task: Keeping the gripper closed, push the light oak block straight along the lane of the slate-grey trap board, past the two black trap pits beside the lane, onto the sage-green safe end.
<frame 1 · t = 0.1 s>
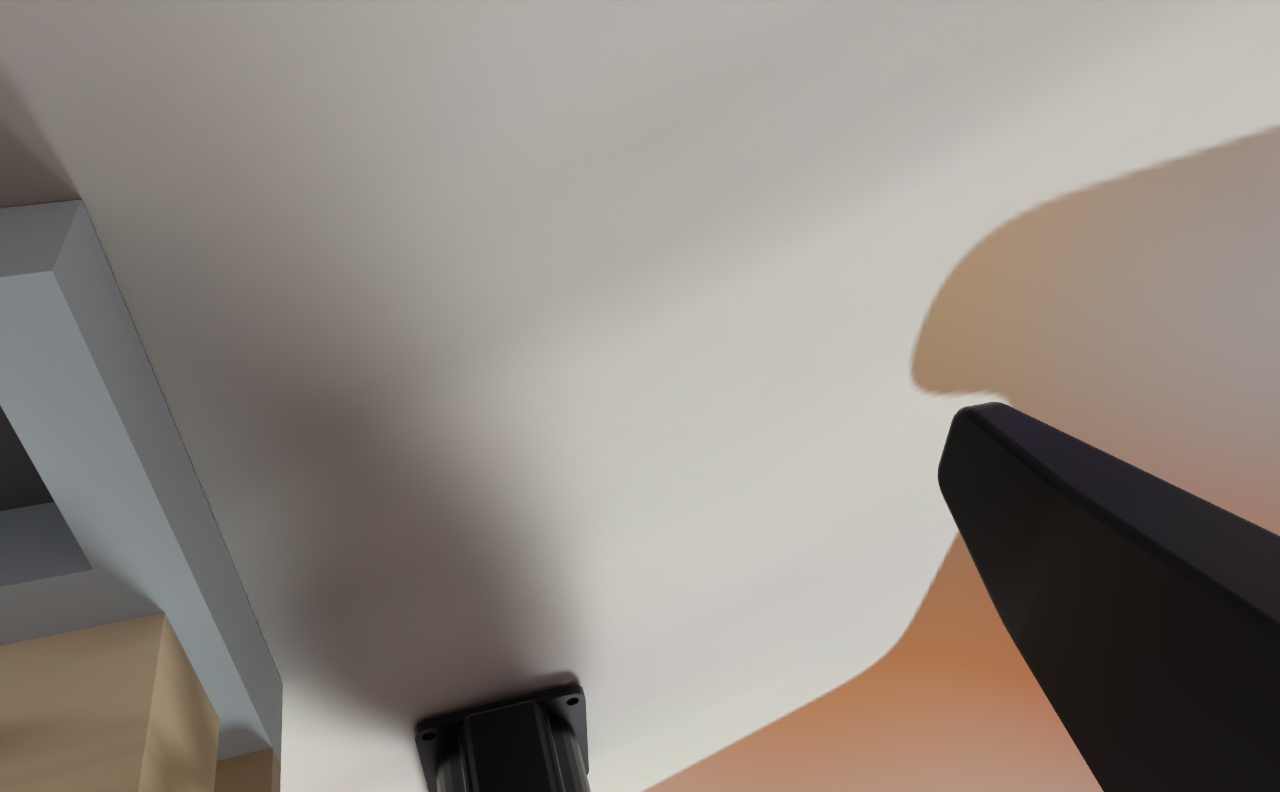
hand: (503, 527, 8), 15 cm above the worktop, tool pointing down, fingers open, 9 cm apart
oak block: (94, 691, 24), point 3 cm above the worktop, touching trap board
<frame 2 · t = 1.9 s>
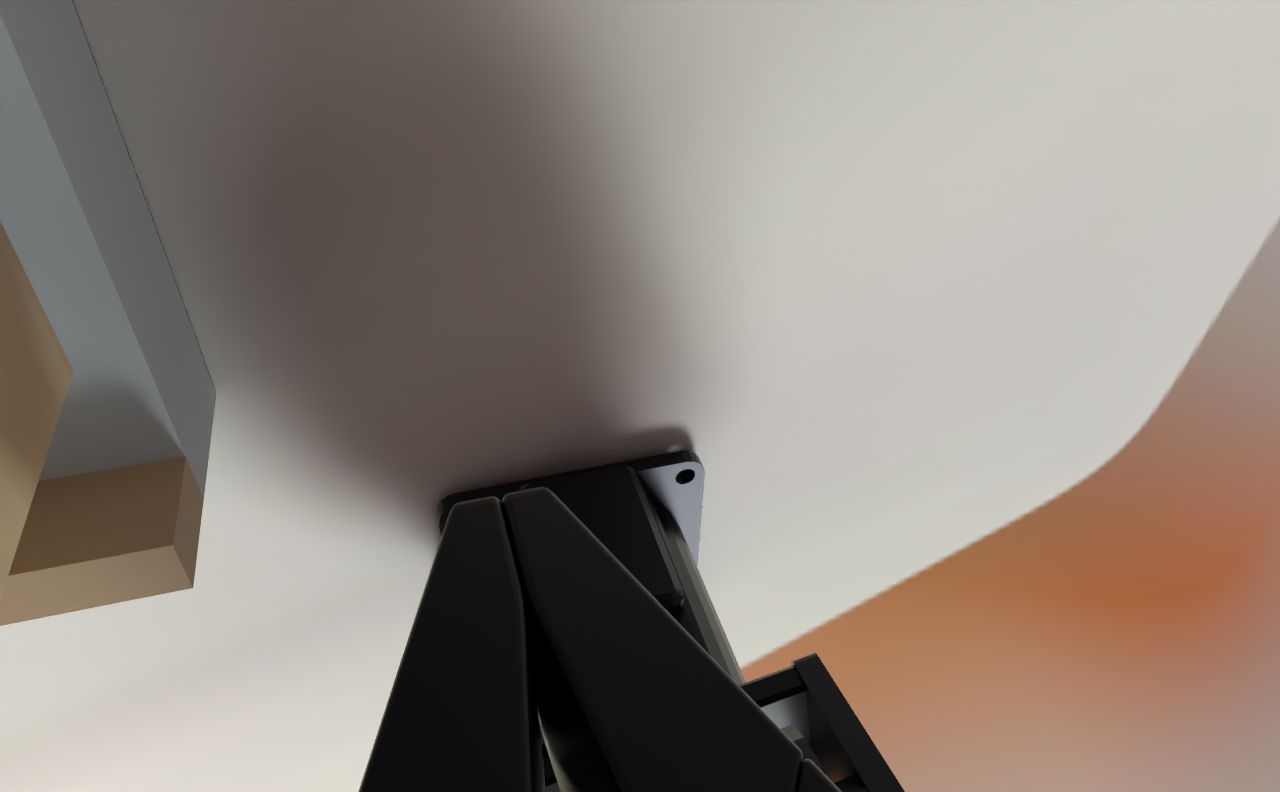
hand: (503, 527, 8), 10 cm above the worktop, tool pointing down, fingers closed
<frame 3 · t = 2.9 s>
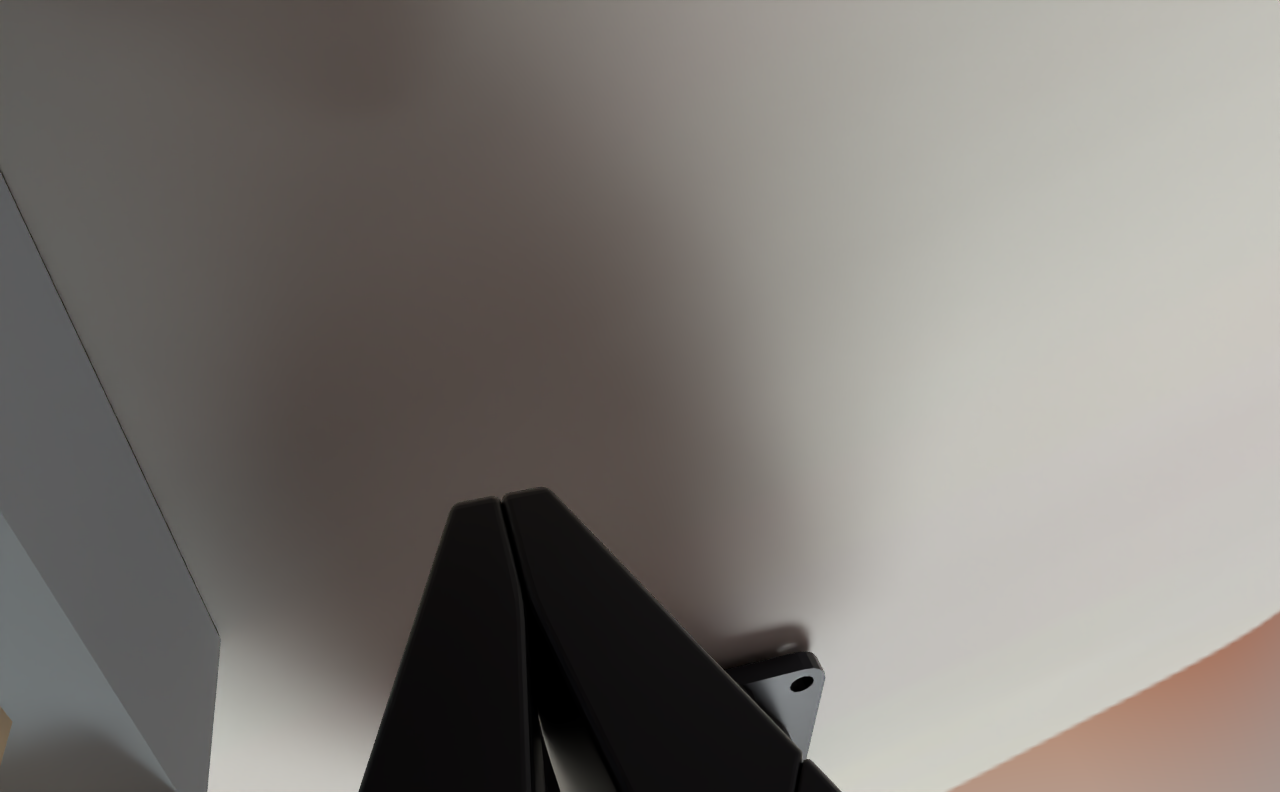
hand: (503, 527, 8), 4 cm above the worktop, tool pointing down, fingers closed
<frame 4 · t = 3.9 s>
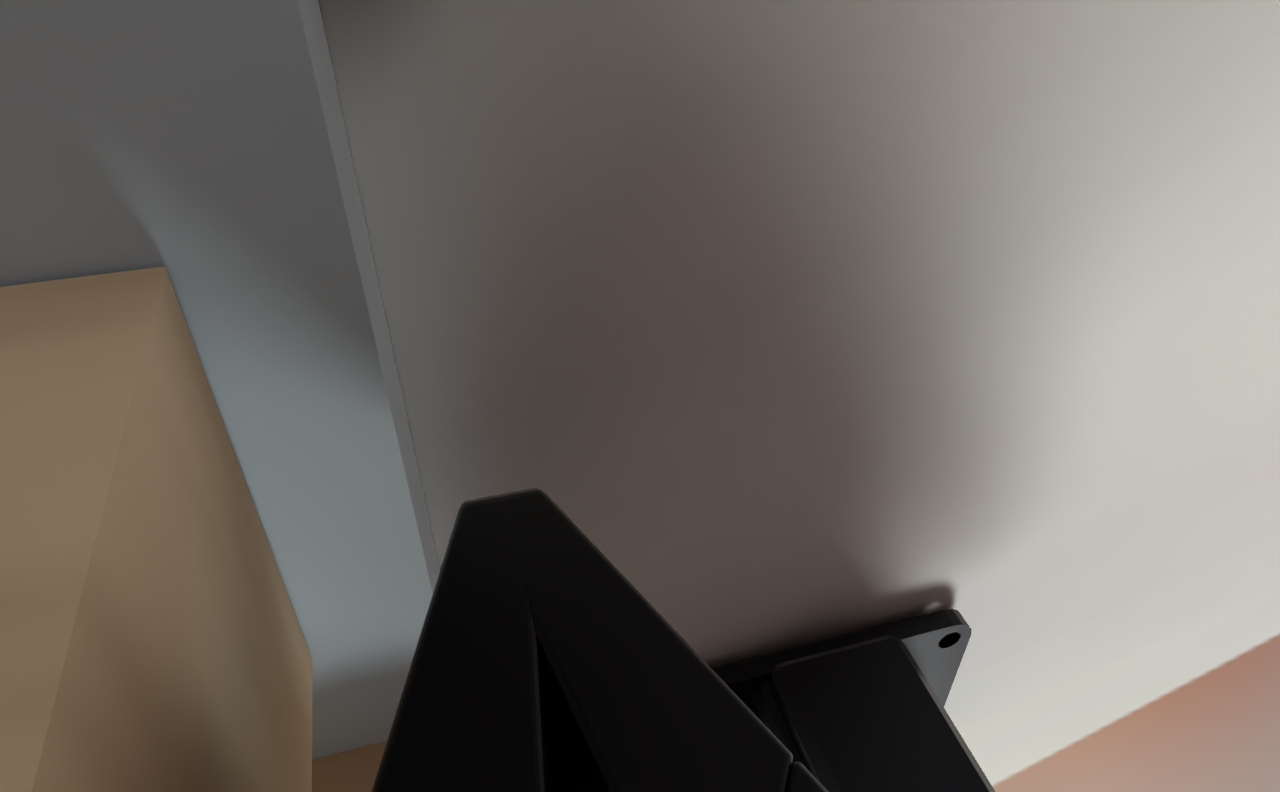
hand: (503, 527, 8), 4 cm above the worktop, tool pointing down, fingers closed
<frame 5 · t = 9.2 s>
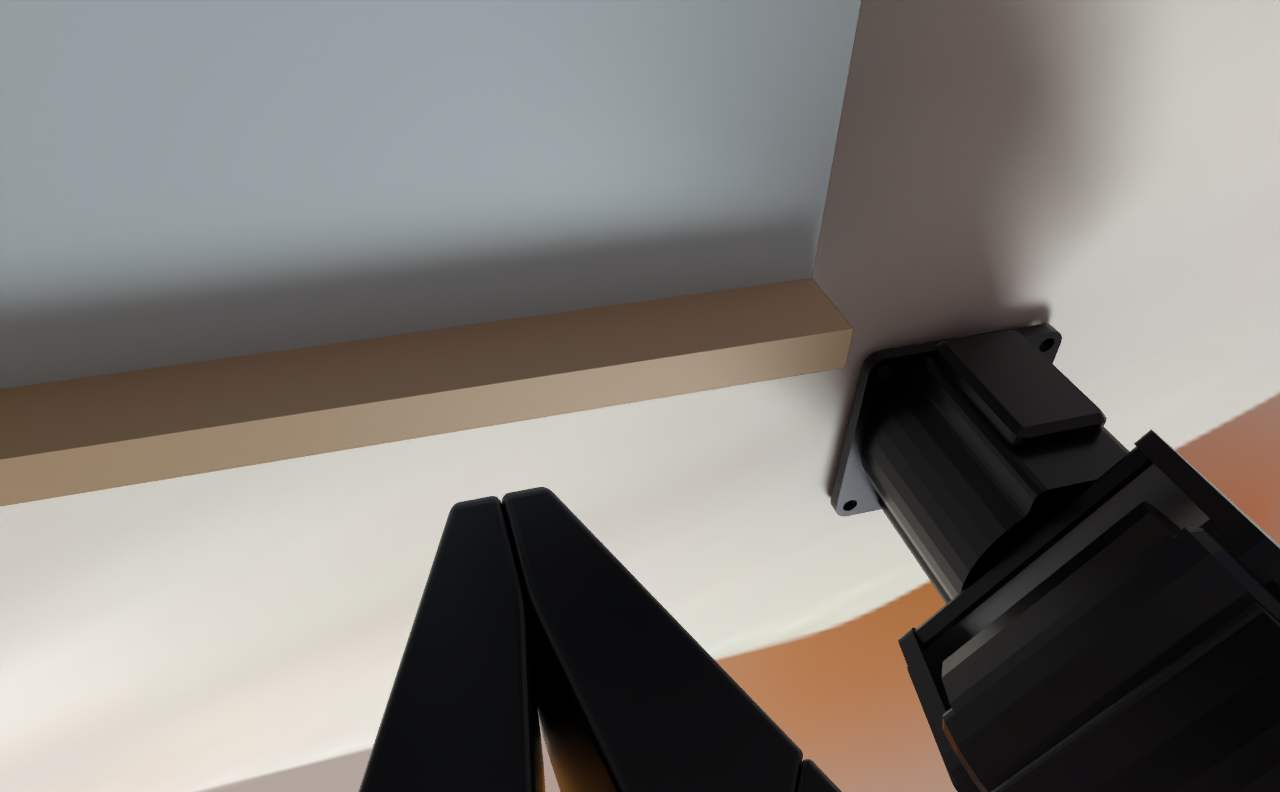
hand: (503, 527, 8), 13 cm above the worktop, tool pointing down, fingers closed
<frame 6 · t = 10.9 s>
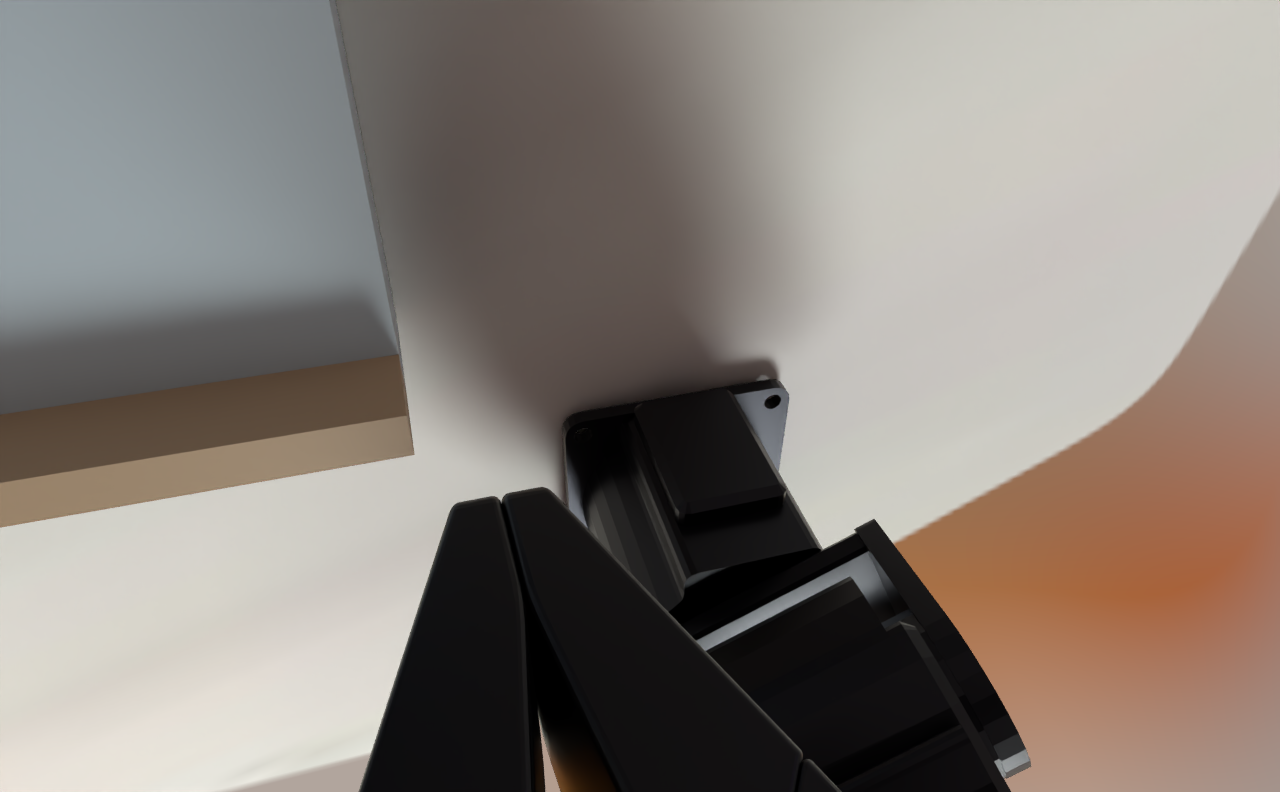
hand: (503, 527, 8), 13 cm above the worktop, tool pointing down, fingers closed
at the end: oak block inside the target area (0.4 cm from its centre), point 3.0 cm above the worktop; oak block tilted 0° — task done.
